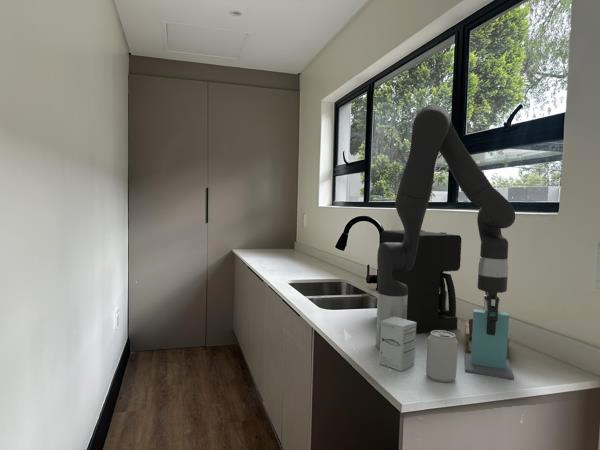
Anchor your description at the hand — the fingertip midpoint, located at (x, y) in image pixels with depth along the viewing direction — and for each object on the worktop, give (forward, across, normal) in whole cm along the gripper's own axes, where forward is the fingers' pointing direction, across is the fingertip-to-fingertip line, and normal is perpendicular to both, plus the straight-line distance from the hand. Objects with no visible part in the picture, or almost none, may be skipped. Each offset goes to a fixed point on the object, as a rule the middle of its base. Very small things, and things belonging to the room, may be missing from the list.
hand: (489, 330), depth 119 cm
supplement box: (+11, -10, +24) cm, 28 cm away
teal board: (+10, 0, 0) cm, 10 cm away
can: (+10, -14, +12) cm, 21 cm away
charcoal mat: (+10, 0, 0) cm, 10 cm away
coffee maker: (+11, +36, +22) cm, 43 cm away
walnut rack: (+10, +17, 0) cm, 20 cm away
